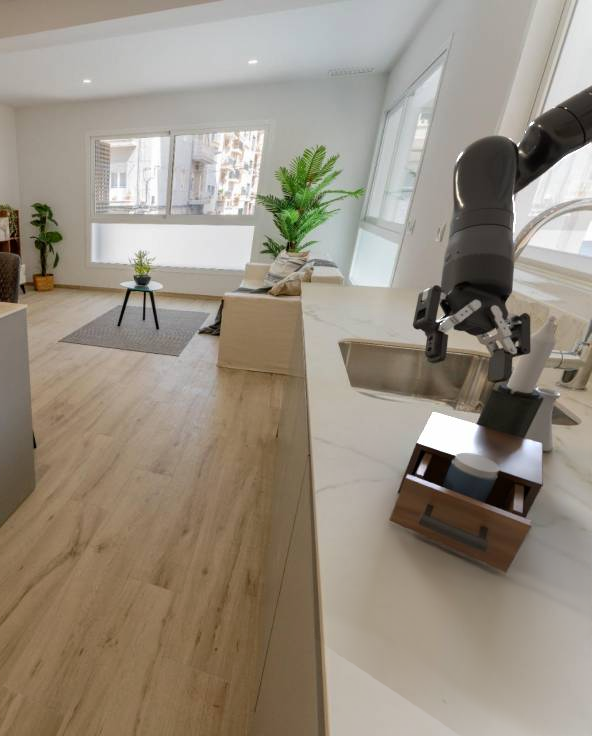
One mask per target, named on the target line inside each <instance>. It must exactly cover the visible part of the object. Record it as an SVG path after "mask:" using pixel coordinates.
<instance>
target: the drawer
mask: <svg viewBox="0 0 592 736" xmlns="http://www.w3.org/2000/svg"><path fill="white" fill-rule="evenodd" d="M451 462H452V460H450V459H447V458H444V457H441V456H438V455H435V454H432V453H429V452H426V453H425V455H424V457H423V459H422V461H421V463H420V465H419V467H418V469H417V472H416V474H415V476H412V475H409V474H407V476H406V478H405V480H404V483H403V486H402V488H401V491H400V493H398V496H397V499H396V500H395V501H396V502H395V504H394V507H393V510H392V512H391V515H390V518H389V522H392V523H393V524H397V525H399V526H400V527H403V528H405V529H408V530H410V531H412V532H414V533H416V534H419V535H421V536H423V537H425V538H428V539H430V540H432V541H434V542H437V543H439V544H441V545H443V546H445V547H448V548H450V549H452V550H454V551H457V552H459V553H461V554H463V555H466V556H468V557H470V558H473V559H475V560H477V561H479V562H481V563H483V564H485V565H488V566H490V567H493V568H495V569H497V570H499V571H502V572H504V573H507V572H508V570H509V569H510V567H511V565H512V563H513V562H514V559H515V557H516V556H517V553H518V552H519V550H520V548H521V546H522V545H523V543H524V541H525V540H526V537H527V536H528V534H529V532H530V530H531V529H532V524H533V522H532V520H531V519H528V518H523V517H521V515H522V513H523V498H524V485H523V484H520V483H517V482H515V481H512V480H509V479H506V478H503V477H500V476H497V479H496V481H495V483H494V485H493V487H492V489H491V491H490V494H489V496H488V498H487V500H486V502H485V503H483V502H480V501H478V500H475V499H472V498H470V497H467V496H465V495H462V494H459V493H457V492H454V491H451V490H449V489H446V488H443V487H441V486H442V483H443V481H444V479H445V476H446V474H447V472H448V469H449V467H450V465H451Z"/></svg>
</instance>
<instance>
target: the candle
mask: <svg viewBox="0 0 592 736" xmlns="http://www.w3.org/2000/svg"><path fill="white" fill-rule="evenodd" d="M556 320H557V317H556V316H555V315H550V316H548V317H547V321H546V322H545V323H543V325H542V326H541V327H540V328H539V329H538V330H537V331H535V332H533V333H531V334H530V346H531V351H530V353H529V354H525V355H521V356H518V359H517V362H516V364H515V365H514V369H513V370H512V374H511V377H510V378H509V379H508V382H499V383H498V386H494V387H491V389H490V392H489V393H488V396H487V398H486V401H485V403H484V406H483V408H482V410H481V412H480V415H479V416H478V419H477V422H476V424H477V425H480V426H484V427H487V428H490V429H494V430H497V431H501V432H504V433H508V434H511V435H515V436H518V437H522V438H525V436H526V434H527V432H528V430H529V428H530V426H531V424H532V422H533V420H534V418H535V416H536V414H537V411H538V409H539V407H540V405H541V403H542V401H543V399H544V397H543V396H541V395H540V393H539V392H538V391H536V386H537V384H538V382H539V380H540V377H541V375H542V373H543V371H544V369H545V367H546V365H547V362H548V361H549V358H550V356H551V354H552V353H553V351H554V350H553V349H554V348H555V346H556V344H557V338H556V336H555V333H554V328H555V321H556Z"/></svg>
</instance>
